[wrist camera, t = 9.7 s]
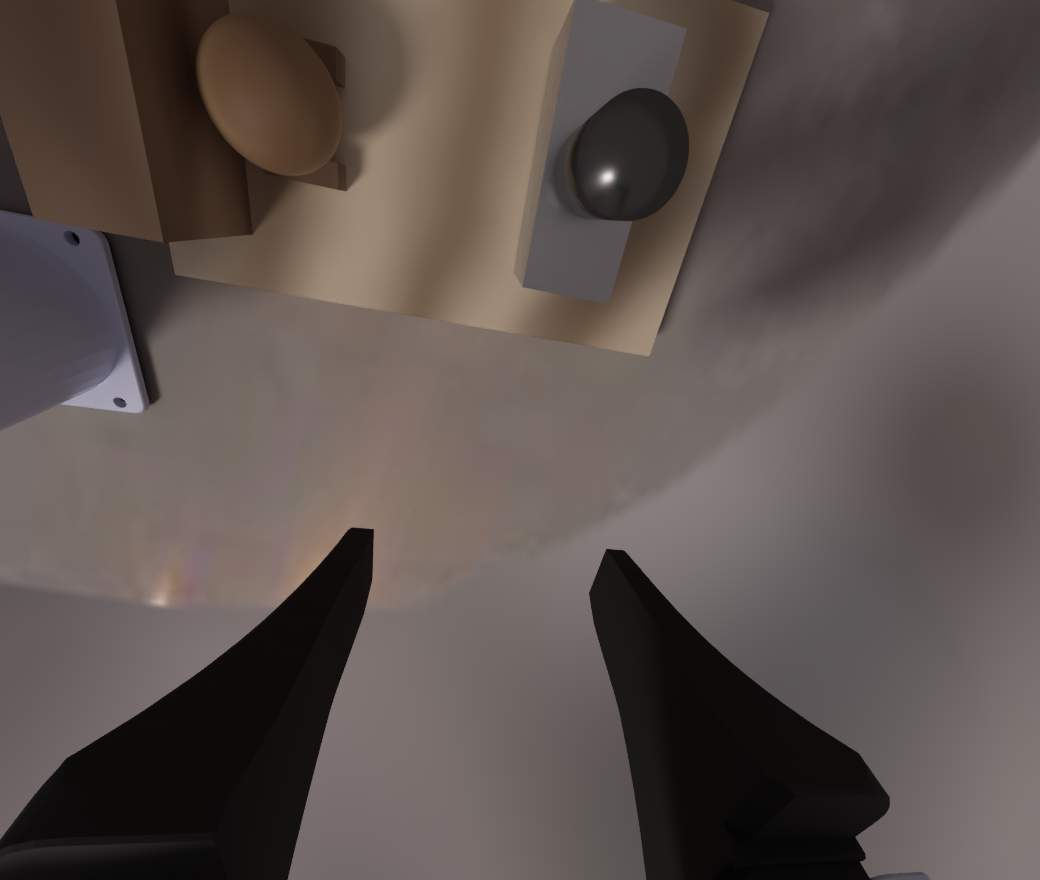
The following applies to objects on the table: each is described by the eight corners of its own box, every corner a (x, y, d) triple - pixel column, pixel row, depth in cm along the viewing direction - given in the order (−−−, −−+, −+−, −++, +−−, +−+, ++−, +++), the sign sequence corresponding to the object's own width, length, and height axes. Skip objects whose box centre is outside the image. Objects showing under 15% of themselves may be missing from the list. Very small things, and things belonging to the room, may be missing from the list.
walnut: (245, 166, 14) (177, 152, 11) (231, 26, 12) (145, -39, 9) (355, 190, 14) (321, 183, 11) (355, 59, 13) (315, 9, 10)
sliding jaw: (513, 272, 17) (535, 309, 10) (551, 50, 14) (619, -103, 7) (582, 285, 17) (645, 329, 11) (635, 74, 14) (771, -47, 8)
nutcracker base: (197, 270, 17) (59, 298, 11) (123, -176, 12) (-216, -547, 6) (638, 347, 20) (698, 398, 15) (743, 30, 15) (905, -82, 9)
